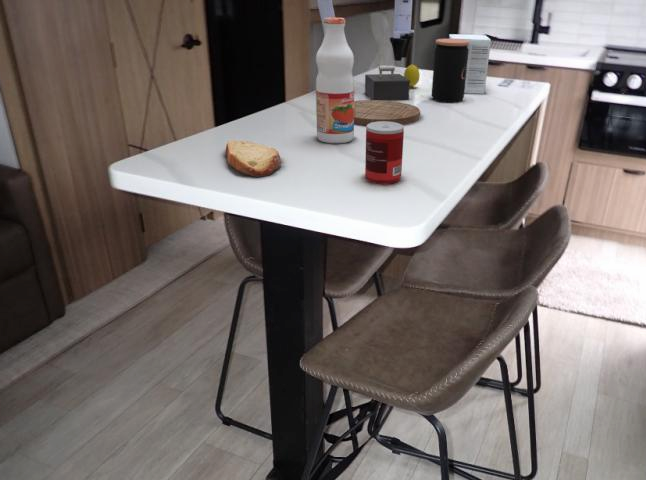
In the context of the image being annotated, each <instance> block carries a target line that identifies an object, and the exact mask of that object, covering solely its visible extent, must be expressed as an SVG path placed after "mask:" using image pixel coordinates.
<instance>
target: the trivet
mask: <svg viewBox="0 0 646 480" xmlns="http://www.w3.org/2000/svg"><path fill="white" fill-rule="evenodd" d="M420 118H421V110H420V108H419V107H417V106H415V105H413V104H410V103H405V102H402V101H396V100H372V99H365V100H354V125H358V126H365V127H367V124H369V123H372V122H379V121H388V122H396V123H399V124H401V125H403V126H407V125H409V124H413V123H414V124H415V122H417V121H419V120H420Z"/></svg>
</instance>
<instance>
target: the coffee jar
mask: <svg viewBox="0 0 646 480" xmlns="http://www.w3.org/2000/svg"><path fill="white" fill-rule="evenodd" d="M435 44H436V46H435V49H434V57H433V69H432V71H433V72H432V85H431V97H432V100H434V101H436V102H440V103H447V104H449V103H451V104H453V103H459V102H462V101H463V99H464V98H465V93H464V90H465V81H466V71H467V61H468V51H469V50H468V48H467V46H468V45H469V41H468V40H462V39H449V38H437V39H436V40H435Z"/></svg>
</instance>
